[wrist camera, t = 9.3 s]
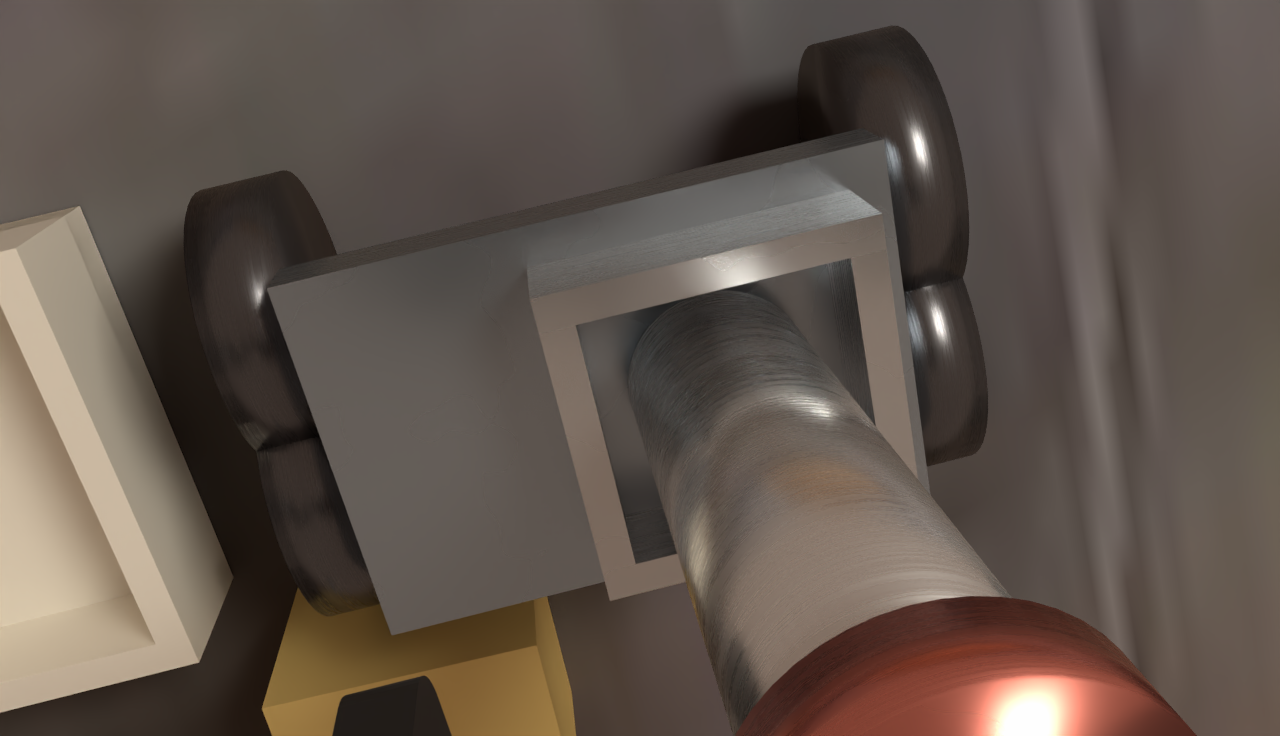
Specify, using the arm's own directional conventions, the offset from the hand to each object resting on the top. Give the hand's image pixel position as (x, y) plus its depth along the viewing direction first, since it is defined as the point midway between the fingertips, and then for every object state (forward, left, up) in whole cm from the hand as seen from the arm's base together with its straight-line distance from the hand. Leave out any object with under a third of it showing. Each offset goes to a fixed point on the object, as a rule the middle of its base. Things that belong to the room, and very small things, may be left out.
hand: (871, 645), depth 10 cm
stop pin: (0, 0, -7) cm, 7 cm away
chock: (-7, -7, -13) cm, 17 cm away
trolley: (-2, 0, -13) cm, 13 cm away
